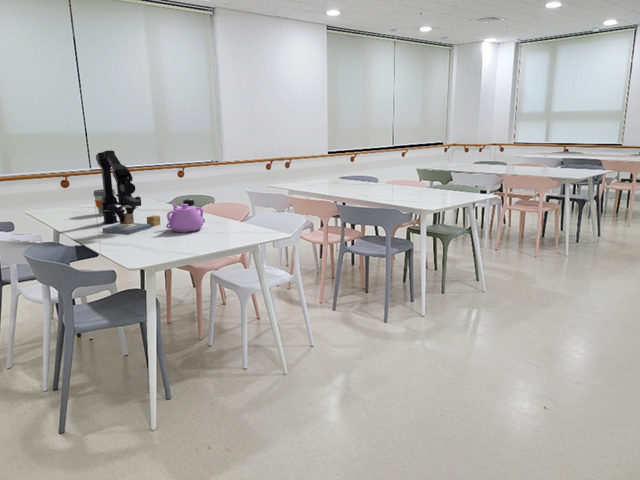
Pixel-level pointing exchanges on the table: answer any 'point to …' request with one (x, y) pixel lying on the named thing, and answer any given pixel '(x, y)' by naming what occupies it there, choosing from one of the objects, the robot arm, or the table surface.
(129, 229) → the board
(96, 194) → the reusable coffee cup
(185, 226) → the teapot
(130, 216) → the walnut block
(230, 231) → the table surface
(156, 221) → the ochre block
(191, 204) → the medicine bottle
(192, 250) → the table surface
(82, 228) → the table surface
